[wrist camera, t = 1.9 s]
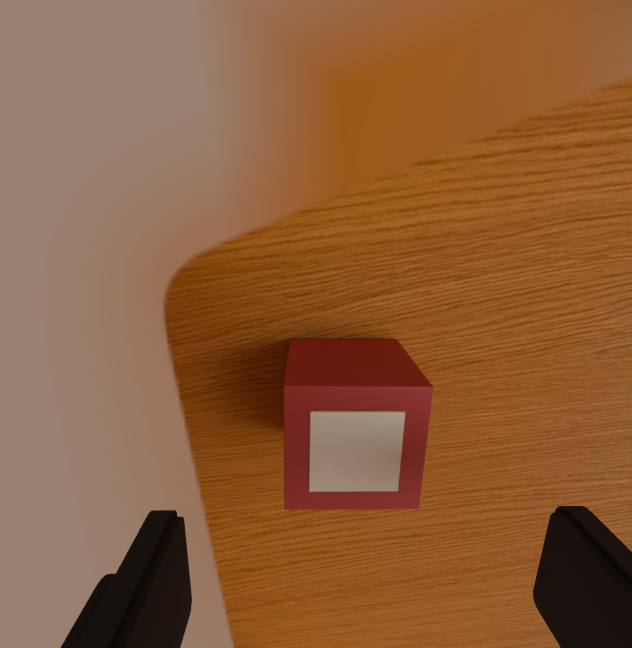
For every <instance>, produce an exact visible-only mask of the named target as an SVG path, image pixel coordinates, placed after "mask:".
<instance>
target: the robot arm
mask: <svg viewBox="0 0 632 648" xmlns="http://www.w3.org/2000/svg"><path fill="white" fill-rule="evenodd" d="M533 598H534V602H535V605H536V607H537V609H538V611H539V612H540V614H541V616H542V617H543V619H544V621H545V622H546V624H547V626H548V627H549V629H550V630H551V632H552V634H553V635H554V637H555V639H556V640H557V642H558V644H559V645H560V647H561V648H632V552H631V551H630V550H629V549H628V548H627V547H626V546H625V545H624V544H623V543H622V542H621V541H620V540H619V539H618V538H617V537H616V536H615V535H614V534H613V533H612V532H611V531H610V530H609V529H608V528H607V527H606V526H605V525H604V524H603V523H602V522H601V521H600V520H599V519H598V518H597V517H596V516H595V515H594V514H593V513H592V512H591V511H590V510H588V509H587V508H586V507H583V506H559V507H557V508H556V510H555V513H552V514H551V516H550V519H549V524H548V528H547V532H546V537H545V541H544V546H543V550H542V554H541V559H540V563H539V567H538V572H537V576H536V581H535V585H534V589H533ZM191 603H192V596H191V585H190V575H189V565H188V555H187V544H186V536H185V524H184V518H183V517H177V512H176V511H175V510H167V511H166V510H161V511H151V512H150V513H149V514H148V516H147V518H146V519H145V521H144V523H143V525H142V527H141V528H140V530H139V532H138V534H137V536H136V538H135V540H134V541H133V543H132V545H131V547H130V549H129V551H128V552H127V554H126V556H125V558H124V560H123V562H122V564H121V565H120V567H119V569H118V571H117V573H116V574H108V575H105V576H104V577H103V578H102V579H101V580H100V582H99V583H98V584H97V586H96V588H95V590H94V591H93V593H92V594H91V596H90V598H89V600H88V601H87V603H86V605H85V607H84V608H83V610H82V612H81V614H80V615H79V617H78V619H77V620H76V622H75V624H74V626H73V627H72V629H71V631H70V632H69V634H68V636H67V638H66V639H65V641H64V643H63V644H62V646H61V648H180V646H181V643H182V640H183V636H184V633H185V629H186V626H187V623H188V619H189V616H190V611H191Z"/></svg>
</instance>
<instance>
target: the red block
mask: <svg viewBox="0 0 632 648" xmlns="http://www.w3.org/2000/svg"><path fill="white" fill-rule="evenodd" d="M432 392H433V386H432V385H431V384H430V382H429V381H428V380H427V378H426V377H425V376H424V375H423V373H422V372H421V371H420V369H419V368H418V367H417V365H416V364H415V363H414V361H413V360H412V359H411V358H410V356H409V355H408V354H407V352H406V351H405V350H404V348H403V347H402V346H401V344H400V343H399V342H398V340H383V339H290V344H289V351H288V358H287V366H286V373H285V380H284V387H283V394H284V502H285V509H418V508H419V502H420V494H421V485H422V477H423V468H424V460H425V451H426V443H427V434H428V426H429V417H430V409H431V400H432Z"/></svg>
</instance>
